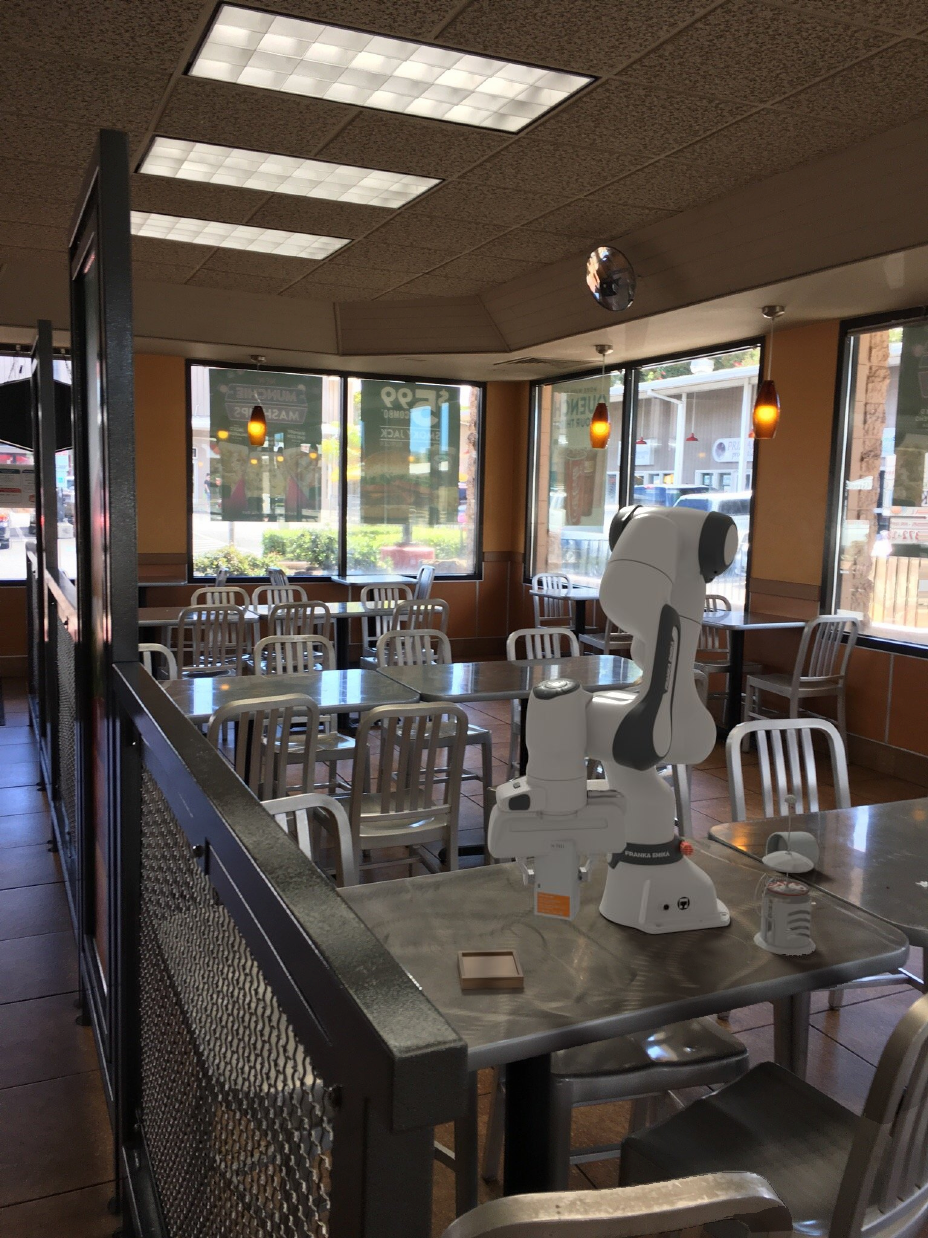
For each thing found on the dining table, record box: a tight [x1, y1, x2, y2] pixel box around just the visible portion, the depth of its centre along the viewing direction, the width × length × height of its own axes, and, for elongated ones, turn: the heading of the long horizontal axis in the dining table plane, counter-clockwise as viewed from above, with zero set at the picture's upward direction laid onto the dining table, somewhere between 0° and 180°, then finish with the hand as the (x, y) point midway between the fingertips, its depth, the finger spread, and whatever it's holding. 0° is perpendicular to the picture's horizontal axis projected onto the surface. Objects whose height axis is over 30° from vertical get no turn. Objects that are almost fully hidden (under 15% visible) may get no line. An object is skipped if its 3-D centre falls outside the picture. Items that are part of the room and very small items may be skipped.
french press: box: [753, 794, 816, 957], centre depth 163 cm, size 10×12×25 cm
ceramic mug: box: [765, 831, 821, 872], centre depth 200 cm, size 11×8×8 cm
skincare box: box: [533, 840, 581, 922], centre depth 147 cm, size 6×4×12 cm
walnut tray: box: [457, 949, 525, 990], centre depth 152 cm, size 9×9×2 cm
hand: (557, 882), depth 147 cm, fingers closed on skincare box, 7 cm apart
